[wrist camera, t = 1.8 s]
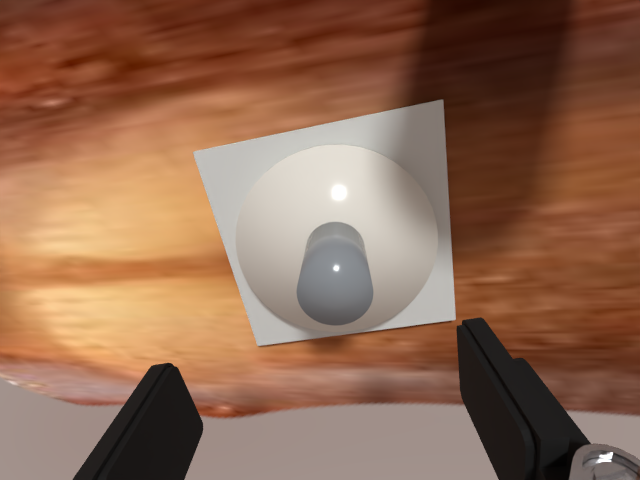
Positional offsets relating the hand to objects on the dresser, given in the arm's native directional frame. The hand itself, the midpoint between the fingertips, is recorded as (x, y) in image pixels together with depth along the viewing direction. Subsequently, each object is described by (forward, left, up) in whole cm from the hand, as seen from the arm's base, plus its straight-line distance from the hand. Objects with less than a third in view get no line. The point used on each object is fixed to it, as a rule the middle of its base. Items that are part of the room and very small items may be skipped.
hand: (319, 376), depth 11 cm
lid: (-1, 0, -11) cm, 11 cm away
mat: (-1, 0, -11) cm, 11 cm away
